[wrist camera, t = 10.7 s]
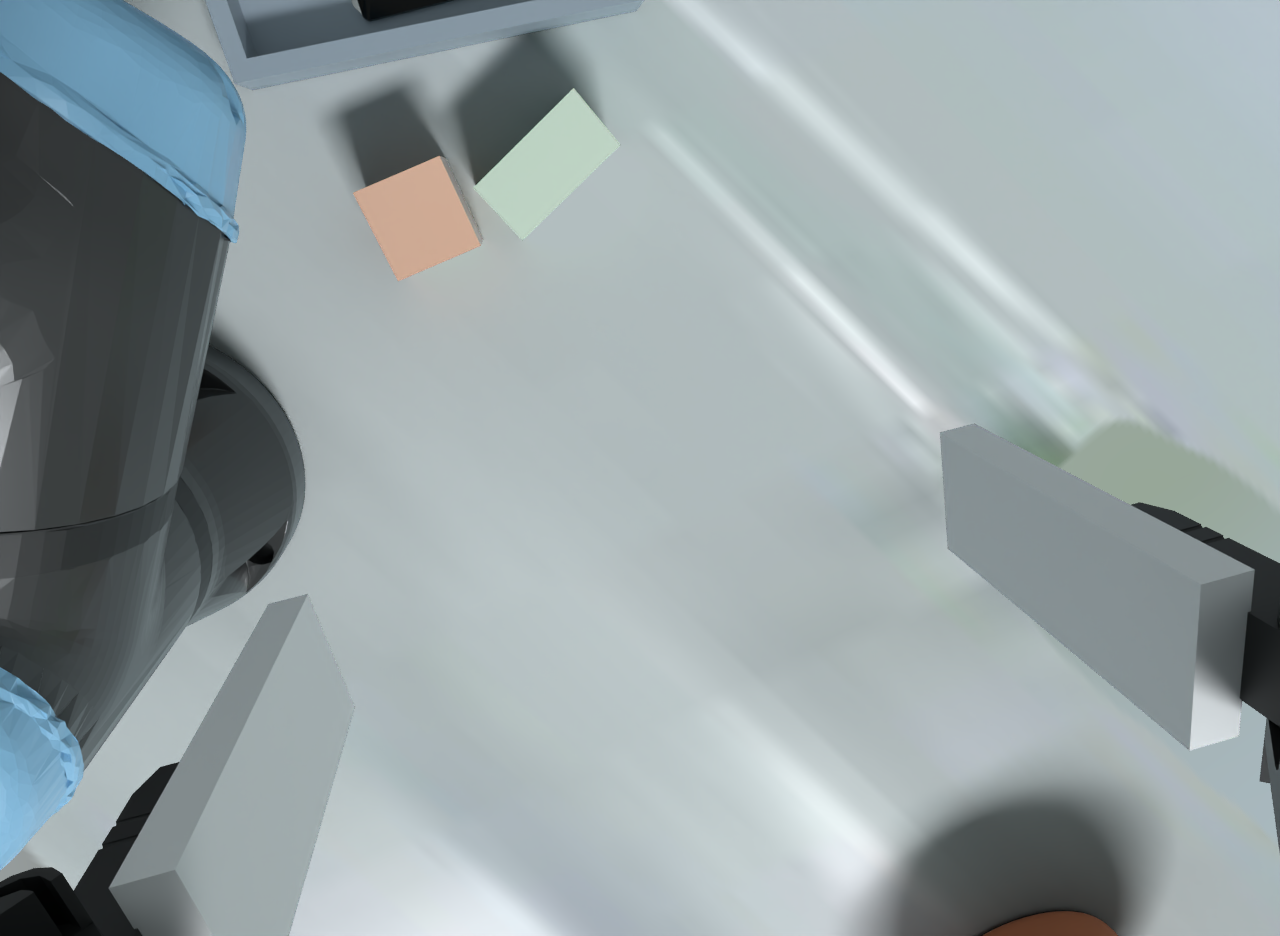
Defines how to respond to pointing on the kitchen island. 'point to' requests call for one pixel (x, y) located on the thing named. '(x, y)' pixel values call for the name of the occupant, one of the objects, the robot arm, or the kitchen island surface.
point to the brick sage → (547, 165)
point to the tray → (373, 32)
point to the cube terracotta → (419, 217)
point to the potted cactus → (1055, 925)
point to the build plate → (391, 7)
